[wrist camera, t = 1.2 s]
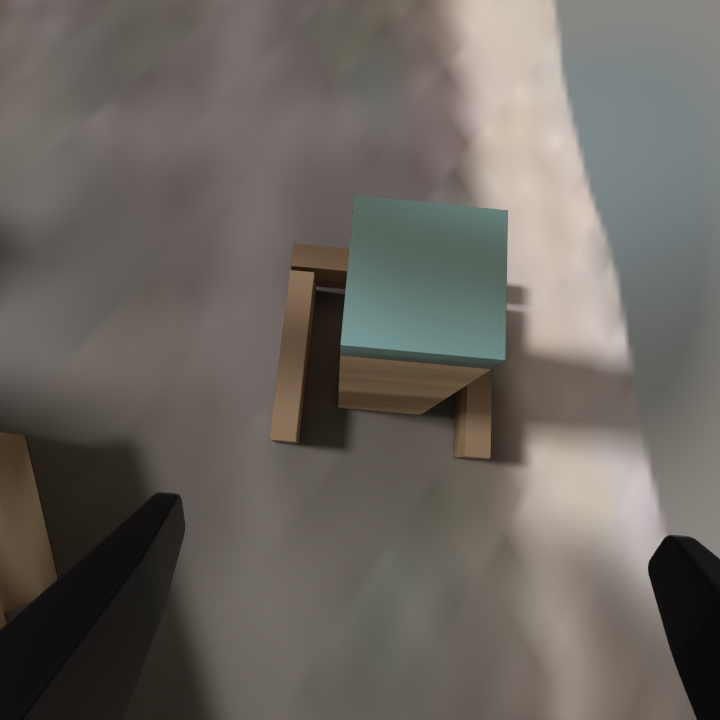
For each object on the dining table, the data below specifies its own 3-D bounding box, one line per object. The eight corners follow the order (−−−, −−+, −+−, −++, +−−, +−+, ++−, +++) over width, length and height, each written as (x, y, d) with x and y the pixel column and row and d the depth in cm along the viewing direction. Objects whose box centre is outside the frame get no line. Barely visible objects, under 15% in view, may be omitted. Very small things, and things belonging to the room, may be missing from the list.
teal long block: (420, 415, 21) (505, 360, 11) (338, 407, 21) (340, 345, 11) (424, 335, 22) (507, 210, 11) (345, 328, 22) (354, 194, 11)
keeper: (476, 459, 21) (490, 458, 19) (275, 442, 21) (269, 439, 19) (481, 280, 23) (494, 263, 21) (296, 263, 23) (293, 243, 21)
